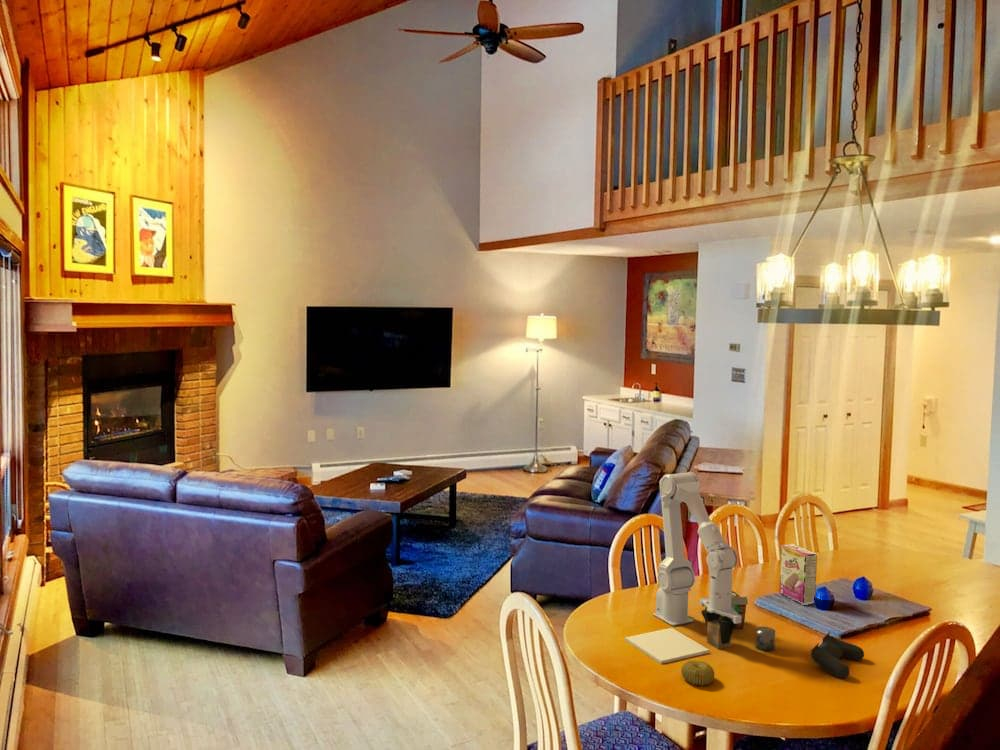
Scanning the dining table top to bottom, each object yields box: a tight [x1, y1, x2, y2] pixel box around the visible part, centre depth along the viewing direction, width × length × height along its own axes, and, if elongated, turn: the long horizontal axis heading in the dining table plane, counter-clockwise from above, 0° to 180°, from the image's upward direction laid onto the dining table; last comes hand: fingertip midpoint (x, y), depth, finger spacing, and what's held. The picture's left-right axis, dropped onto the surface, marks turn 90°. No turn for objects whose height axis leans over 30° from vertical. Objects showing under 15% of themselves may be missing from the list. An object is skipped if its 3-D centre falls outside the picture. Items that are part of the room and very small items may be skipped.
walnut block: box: [706, 620, 732, 650], centre depth 217 cm, size 4×4×6 cm
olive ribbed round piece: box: [680, 660, 715, 686], centre depth 196 cm, size 8×4×8 cm
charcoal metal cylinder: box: [754, 626, 776, 653], centre depth 215 cm, size 5×5×5 cm
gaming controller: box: [810, 632, 865, 679], centre depth 206 cm, size 17×6×10 cm
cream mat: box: [624, 627, 710, 665], centre depth 216 cm, size 16×16×1 cm
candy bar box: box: [779, 543, 818, 603], centre depth 251 cm, size 11×5×16 cm, turn 22°
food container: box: [719, 590, 749, 631], centre depth 231 cm, size 12×6×10 cm, turn 21°
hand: (718, 639), depth 217 cm, fingers closed on walnut block, 4 cm apart
